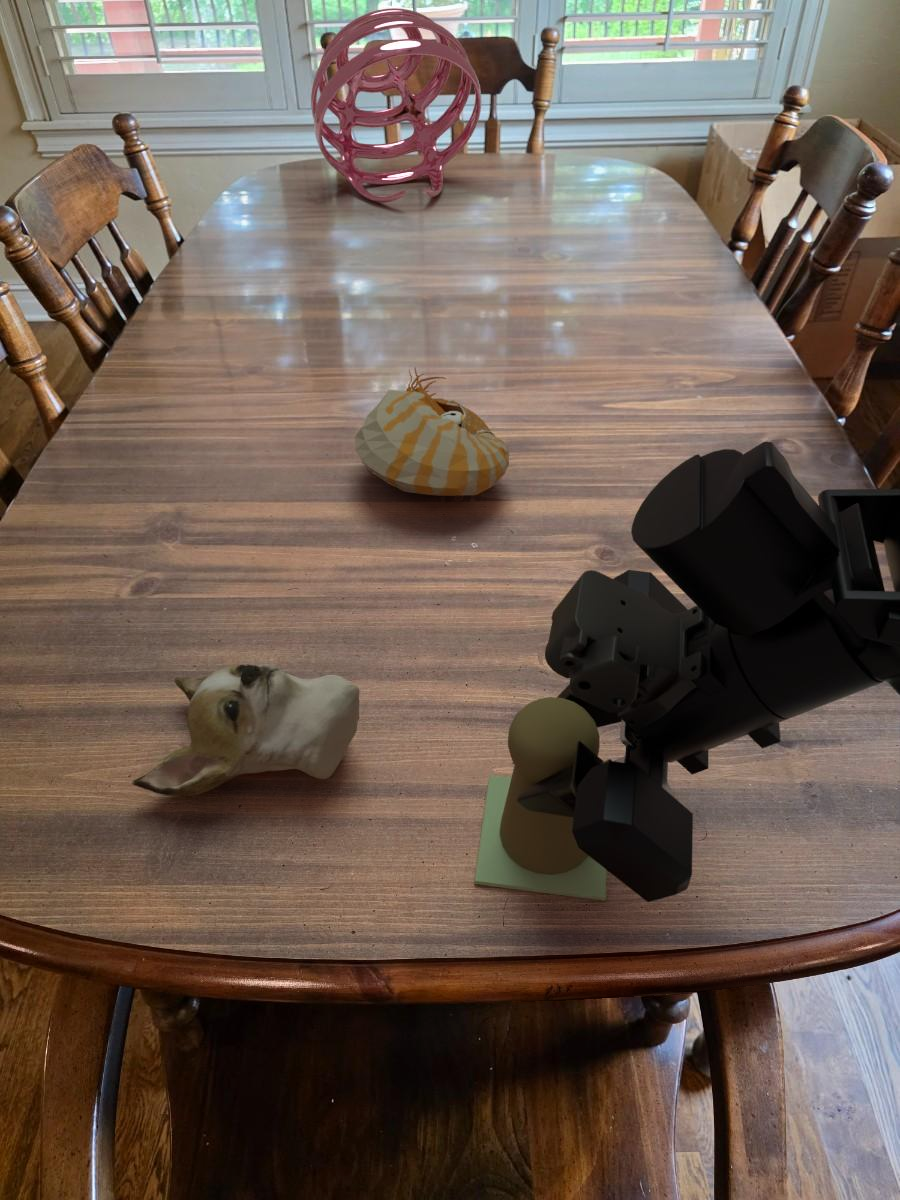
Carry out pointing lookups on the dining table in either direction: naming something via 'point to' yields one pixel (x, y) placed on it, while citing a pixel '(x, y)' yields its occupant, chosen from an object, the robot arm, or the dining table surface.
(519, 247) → the dining table surface
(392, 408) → the nautilus
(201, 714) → the ceramic sculpture
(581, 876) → the coaster
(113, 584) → the dining table surface
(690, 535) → the robot arm
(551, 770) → the olive pawn
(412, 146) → the spiral basket
